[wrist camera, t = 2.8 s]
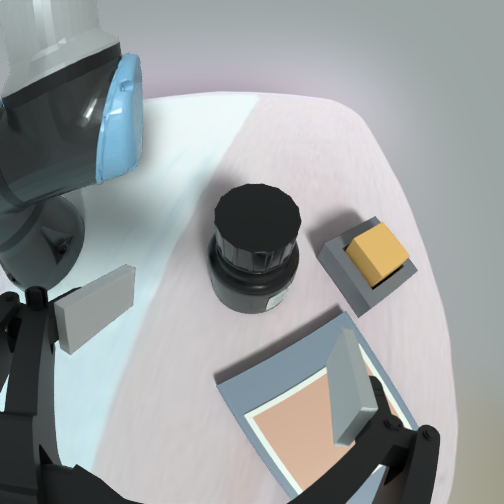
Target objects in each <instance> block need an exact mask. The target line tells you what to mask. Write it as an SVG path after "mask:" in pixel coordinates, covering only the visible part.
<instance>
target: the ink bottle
mask: <svg viewBox="0 0 504 504" xmlns="http://www.w3.org/2000/svg"><path fill="white" fill-rule="evenodd" d="M214 224H215V232H214V233H213V235H212V237H211V239H210V242H209V245H208V252H207V257H208V265H209V270H210V275H211V280H212V285H213V289H214V291H215V293H216V295H217V297H218V298H219V300H220V301H221V302H222V303H223V304H224V305H226V306H227V307H228V308H230V309H232V310H234V311H237V312H241V313H246V314H257V313H263V312H266V311H268V310H271V309H273V308H274V307H276V306H277V305H278V304H279V303H280V302H281V301H282V300H283V298H284V297H285V296H286V294H287V292H288V289H289V287H290V285H291V283H292V281H293V279H294V276H295V273H296V271H297V268H298V264H299V249H298V245H297V242H296V238H297V235H298V231H299V228H300V225H301V218H300V213H299V208H298V206H297V205H296V204H295V202H294V201H293V200H292V198H291V197H290V196H289V195H287V194H286V193H284V192H283V191H281V190H280V189H279V188H276V187H272V186H268V185H265V184H245V185H243V186H239V187H236V188H233V189H231V190H230V191H229V192H228V193H226V194H225V195H224V196H222V197H221V198H220V201H219V203H218V205H217V207H216V208H215V221H214Z"/></svg>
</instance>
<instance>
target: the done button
mask: <svg viewBox="0 0 504 504" xmlns="http://www.w3.org/2000/svg"><path fill="white" fill-rule="evenodd" d="M345 253H346V254H347V255H348V257H349V258H350V259H351V261H352V262H353V264H354V265H355V266H356V268H357V269H358V270H359V272H360V273H361V274H362V276H363V277H364V279H365V280H366V281H367V283H368V284H369V286H370V287H371V288H373V287H374V286H375V285H377V284H378V283H379V282H381V281H382V280H384V279H385V278H386V277H388V276H389V275H390V274H392V273H393V272H394V271H395V270H396V269H397V268H398V267H399V266H400V265H401V264H402V263H403V262H404V261H405V260H406V259H407V258H408V257H409V256H410V255H409V254H408V253H407V251H406V250H405V249H404V247H403V246H402V245H401V244H400V242H399V241H398V240H397V239H396V237H395V236H394V235H393V234H392V232H391V231H390V230H389V229H388V227H387V226H386V225H385V224H384V223H383V222H382V223H380V224H378V225H377V226H375V227H373V228H371V229H370V230H368V231H366V232H364V233H362V234H361V235H359V236H357V237H355V238H354V239H353V240H352V242H351V243H350V245H349V246H348V248H347V249H346V251H345Z"/></svg>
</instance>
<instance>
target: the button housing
mask: <svg viewBox="0 0 504 504" xmlns="http://www.w3.org/2000/svg"><path fill="white" fill-rule="evenodd" d="M380 223H381V222H380V221H379V220H378V219H377V218H376V216H375V217H373V218H371V219H369V220H367V221H365V222H364V223H362V224H360V225H358V226H356V227H354V228H352V229H350V230H349V231H347V232H345V233H343V234H341V235H339V236H337V237H335V238H333V239H332V240H330V241H328V242H326V243H324V245H323V247H322V249H321V251H320V253H319V255H318V257H317V259H318V260H319V262H320V263H321V265H322V266H323V267H324V269H325V270H326V272H327V273H328V274H329V276H330V277H331V279H332V280H333V281H334V283H335V284H336V286H337V287H338V289H339V290H340V291H341V293H342V294H343V296H344V297H345V299H346V300H347V302H348V303H349V305H350V306H351V307H352V309H353V310H354V312H355V313H356V315H357V316H358V318H359V317H360V316H362V315H363V314H364V313H366V312H367V311H368V310H370V309H371V308H372V307H374V306H375V305H376V304H378V303H379V302H380V301H382V300H383V299H384V298H385V297H387V296H388V295H389V294H390V293H392V292H393V291H394V290H395V289H397V288H398V287H399V286H400V285H402V284H403V283H404V282H405V281H406V280H407V279H409V278H410V277H411V276H412V275H413V274H414V273H416V272H417V271H418V270H417V269H416V267H415V266H414V265H413V263H412V262H411V260H410V259H409V258H407V259H406V260H405V261H404V262H403V263H402V264H401V265H400V266H399V267H398V268H397V269H396V270H395V271H394V272H393V273H392V274H390V275H389V276H390V278H389V279H387V280H386V281H385V282H383V283H382V284H381V285H379V286H378V287H377V288H375V289H374V290H372V288H371V287H370V286H369V284H368V283H367V281H366V280H365V279H364V277H363V276H362V274H361V273H360V272H359V270H358V269H357V268H356V266H355V265H354V264H353V262H352V261H351V259H350V258H349V257H348V255H347V254H346V253H345V251H346V249H347V248H348V246H349V245H350V243H351V242H352V240H353V239H354V238H355V237H357V236H359V235H361V234H362V233H364V232H366V231H368V230H370V229H371V228H373V227H375V226H377V225H378V224H380Z"/></svg>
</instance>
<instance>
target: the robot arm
mask: <svg viewBox="0 0 504 504" xmlns="http://www.w3.org/2000/svg"><path fill="white" fill-rule="evenodd" d="M0 17H1V25H2V31H3V37H4V43H5V47H6V52H7V57H8V62H9V66H10V72H9V75H8V78H7V80H6V82H5V84H4V87H3V89H2V91H1V98H2V101H1V100H0V264H1V266H2V268H3V270H4V271H5V273H6V275H7V277H8V278H9V280H10V281H11V282H12V283H13V284H14V285H15V286H17V287H18V288H19V289H21V290H22V291H24V292H25V298H26V304H23V303H20V299H19V295H18V294H17V293H15V292H11V291H9V292H5V293H3V294H2V295H0V392H1V390H2V388H3V386H4V383H5V381H6V379H7V377H8V375H9V379H8V386H7V393H6V401H5V409H4V412H0V504H143V503H138V502H134V501H130V500H127V499H125V498H123V497H122V496H120V495H119V494H118V493H117V492H115V491H114V490H113V489H112V488H111V487H109V486H108V485H107V484H106V483H105V482H104V481H102V480H101V479H100V478H98V477H97V476H95V475H93V474H92V473H90V472H88V471H87V470H85V469H84V468H82V467H80V466H79V465H77V464H76V465H75V467H74V468H71V467H67V466H63V465H62V464H61V461H60V458H59V455H58V449H57V441H56V430H55V415H54V363H55V342H56V341H58V340H59V343H60V348H61V349H62V350H63V351H65V352H66V353H68V354H70V355H71V354H73V353H74V352H75V351H76V350H77V349H79V348H80V347H81V346H82V345H84V344H85V343H86V342H87V341H88V340H90V339H91V338H92V337H93V336H95V335H96V334H97V333H98V332H100V331H101V330H102V329H103V328H105V327H106V326H107V325H108V324H110V323H111V322H112V321H114V320H115V319H116V318H117V317H119V316H120V315H121V314H122V313H124V312H125V311H126V310H128V309H129V308H130V307H131V306H133V298H134V282H135V269H136V268H135V267H132V266H130V265H127V264H126V265H124V266H122V267H120V268H118V269H116V270H114V271H112V272H110V273H108V274H106V275H104V276H102V277H100V278H99V279H97V280H95V281H93V282H91V283H89V284H87V285H85V286H84V287H78V288H74V289H72V290H70V291H68V292H67V293H64V294H62V295H60V296H58V297H57V298H55V299H53V300H51V301H49V302H48V295H47V291H48V290H49V289H51V288H53V287H54V286H56V285H57V284H58V283H59V282H60V281H61V280H62V279H63V278H64V277H65V276H66V275H67V274H68V272H69V271H70V270H71V268H72V267H73V265H74V263H75V262H76V260H77V258H78V256H79V253H80V251H81V248H82V244H83V239H84V224H83V220H82V218H81V216H80V215H79V213H78V212H77V210H76V209H75V207H74V206H73V205H72V204H71V203H70V202H69V201H67V200H66V199H64V198H63V197H61V196H60V195H61V194H64V193H67V192H70V191H73V190H76V189H79V188H82V187H86V186H89V185H92V184H95V183H97V185H100V184H102V183H103V182H104V181H106V180H109V179H112V178H115V177H118V176H121V175H124V174H127V173H129V172H131V171H132V170H133V169H134V168H135V167H136V166H137V164H138V163H139V161H140V157H141V153H142V137H143V98H142V74H141V68H140V59H139V57H138V55H136V54H130V53H126V54H124V55H123V56H122V54H121V49H120V42H119V38H118V37H116V36H114V35H112V34H110V33H108V32H106V31H104V30H102V29H101V27H100V25H99V18H98V9H97V0H0ZM3 104H4V107H3ZM5 329H6V331H5ZM326 369H327V378H328V387H329V397H330V407H331V419H332V431H333V445H334V446H344V447H349V446H350V445H351V443H352V442H353V441H354V440H355V445H354V446H353V447H352V448H351V449H350V450H349V451H348V452H347V453H346V454H345V455H344V456H343V457H342V458H341V459H340V460H339V461H338V462H337V463H336V464H334V465H333V466H332V467H331V468H330V469H329V470H328V471H327V472H326V473H325V474H323V475H322V476H321V477H320V478H319V479H318V480H317V481H315V482H314V483H313V484H312V485H311V486H309V487H308V488H307V489H306V490H304V491H303V492H302V493H301V494H299V495H298V496H297V497H295V498H294V499H293V500H291V501H290V502H289V503H287V504H346V503H347V502H348V500H349V499H350V498H351V497H352V496H353V495H354V494H355V493H356V492H357V491H358V490H359V488H360V487H361V486H362V485H363V484H364V483H365V481H366V480H367V479H368V478H369V477H370V475H371V474H372V473H373V472H374V470H375V469H376V468H377V467H378V465H379V464H380V465H383V466H386V468H385V471H384V474H383V477H382V479H381V482H380V484H379V487H378V489H377V492H376V494H375V497H374V499H373V501H372V503H371V504H430V502H431V497H432V493H433V488H434V483H435V477H436V471H437V464H438V456H439V447H440V434H439V432H438V431H437V430H436V429H435V428H434V427H432V426H430V425H422V426H421V427H419V428H418V430H417V431H414V430H411V429H408V428H405V427H404V425H403V422H402V421H401V419H400V418H398V417H397V416H395V415H393V414H392V413H391V410H390V407H389V404H388V401H387V398H386V397H385V396H386V395H385V392H384V389H383V386H382V383H381V382H380V381H379V380H378V378H377V377H376V376H369V375H368V372H367V369H366V366H365V363H364V360H363V357H362V353H361V350H360V347H359V344H358V341H357V339H356V336H355V333H354V330H350V329H346V328H342V329H341V331H340V334H339V336H338V338H337V340H336V343H335V345H334V347H333V349H332V352H331V354H330V356H329V358H328V360H327V362H326Z"/></svg>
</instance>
